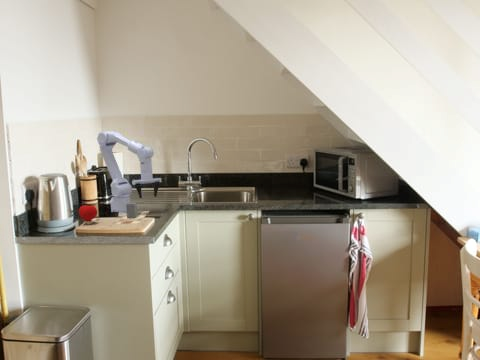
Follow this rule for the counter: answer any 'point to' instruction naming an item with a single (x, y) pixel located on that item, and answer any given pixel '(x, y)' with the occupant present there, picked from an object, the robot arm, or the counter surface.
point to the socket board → (137, 219)
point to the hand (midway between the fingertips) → (148, 197)
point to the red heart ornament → (88, 213)
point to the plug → (131, 210)
